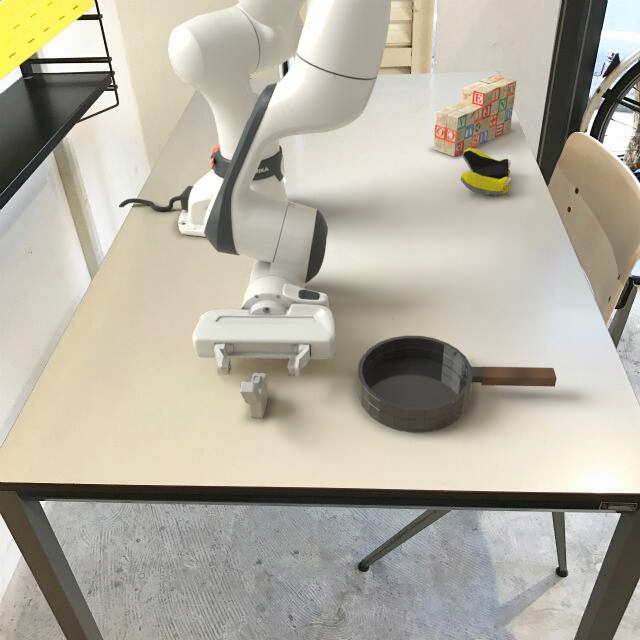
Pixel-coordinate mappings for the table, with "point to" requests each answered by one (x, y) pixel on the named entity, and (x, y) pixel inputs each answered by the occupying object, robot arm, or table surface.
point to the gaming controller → (486, 173)
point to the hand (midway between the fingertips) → (258, 371)
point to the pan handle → (514, 376)
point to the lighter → (255, 394)
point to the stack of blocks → (475, 116)
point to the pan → (414, 383)
